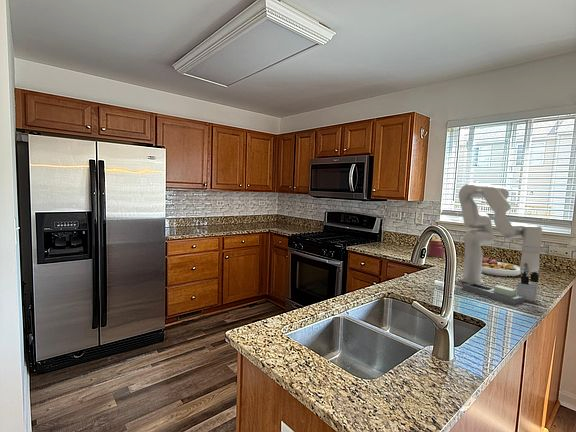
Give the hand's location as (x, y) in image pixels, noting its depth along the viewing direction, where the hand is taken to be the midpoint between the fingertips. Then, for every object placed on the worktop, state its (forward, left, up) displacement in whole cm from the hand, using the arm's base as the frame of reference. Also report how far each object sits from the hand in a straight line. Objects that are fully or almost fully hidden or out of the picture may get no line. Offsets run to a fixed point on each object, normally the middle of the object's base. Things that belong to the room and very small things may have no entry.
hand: (529, 282), depth 160 cm
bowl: (-48, -41, -9) cm, 64 cm away
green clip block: (+11, -6, -9) cm, 15 cm away
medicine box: (0, -1, -9) cm, 9 cm away
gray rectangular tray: (+11, -12, -9) cm, 18 cm away
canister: (-57, -94, -9) cm, 110 cm away
